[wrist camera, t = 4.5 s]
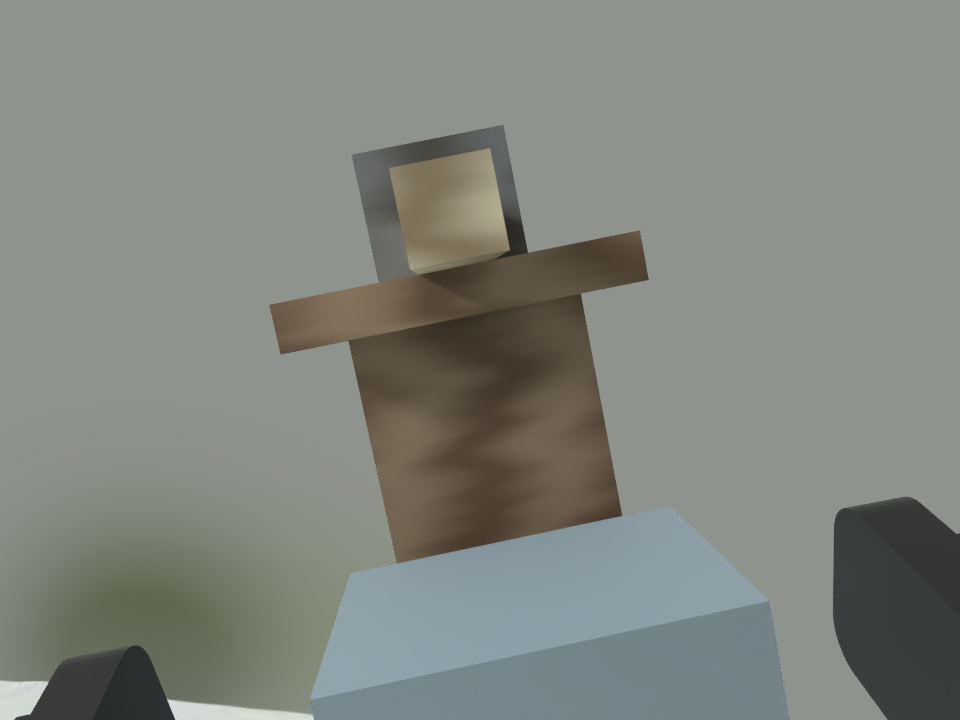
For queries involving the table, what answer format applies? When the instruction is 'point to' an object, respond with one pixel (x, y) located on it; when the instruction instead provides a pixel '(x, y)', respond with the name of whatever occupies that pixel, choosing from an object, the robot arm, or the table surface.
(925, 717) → the robot arm
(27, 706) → the table surface
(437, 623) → the slate pedestal
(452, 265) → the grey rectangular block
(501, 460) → the walnut stand
